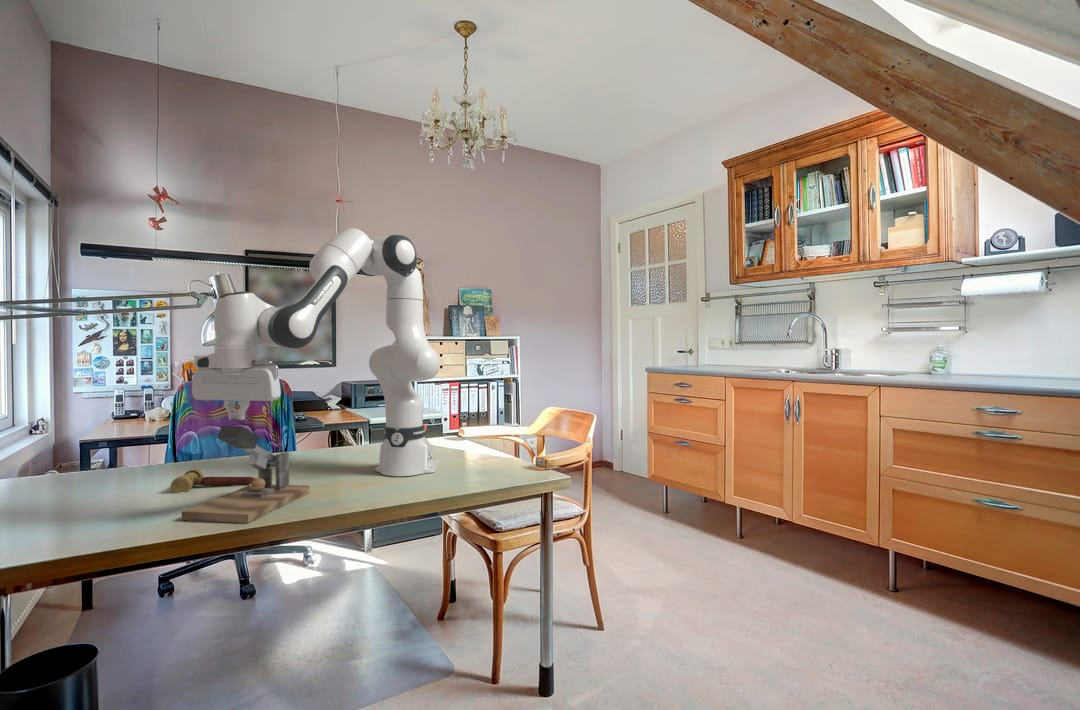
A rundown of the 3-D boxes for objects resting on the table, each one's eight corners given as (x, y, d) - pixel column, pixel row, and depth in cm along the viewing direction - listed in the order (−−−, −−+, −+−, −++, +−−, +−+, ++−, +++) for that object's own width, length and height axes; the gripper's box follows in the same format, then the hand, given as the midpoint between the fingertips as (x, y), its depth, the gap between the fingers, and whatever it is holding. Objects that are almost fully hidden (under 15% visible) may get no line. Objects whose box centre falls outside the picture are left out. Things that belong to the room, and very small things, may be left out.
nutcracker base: (253, 491, 141) (252, 450, 141) (309, 493, 139) (308, 451, 139) (181, 520, 117) (181, 471, 117) (248, 523, 115) (247, 473, 115)
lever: (263, 474, 137) (270, 454, 140) (281, 475, 136) (287, 454, 139) (213, 448, 119) (221, 425, 122) (233, 449, 119) (241, 426, 121)
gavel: (267, 469, 154) (258, 477, 144) (266, 484, 154) (257, 494, 144) (186, 468, 149) (170, 477, 139) (185, 485, 149) (169, 494, 139)
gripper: (286, 360, 125) (286, 418, 125) (207, 360, 128) (207, 417, 128) (269, 361, 119) (269, 422, 119) (186, 360, 121) (187, 420, 121)
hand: (236, 419), depth 123 cm, fingers closed
